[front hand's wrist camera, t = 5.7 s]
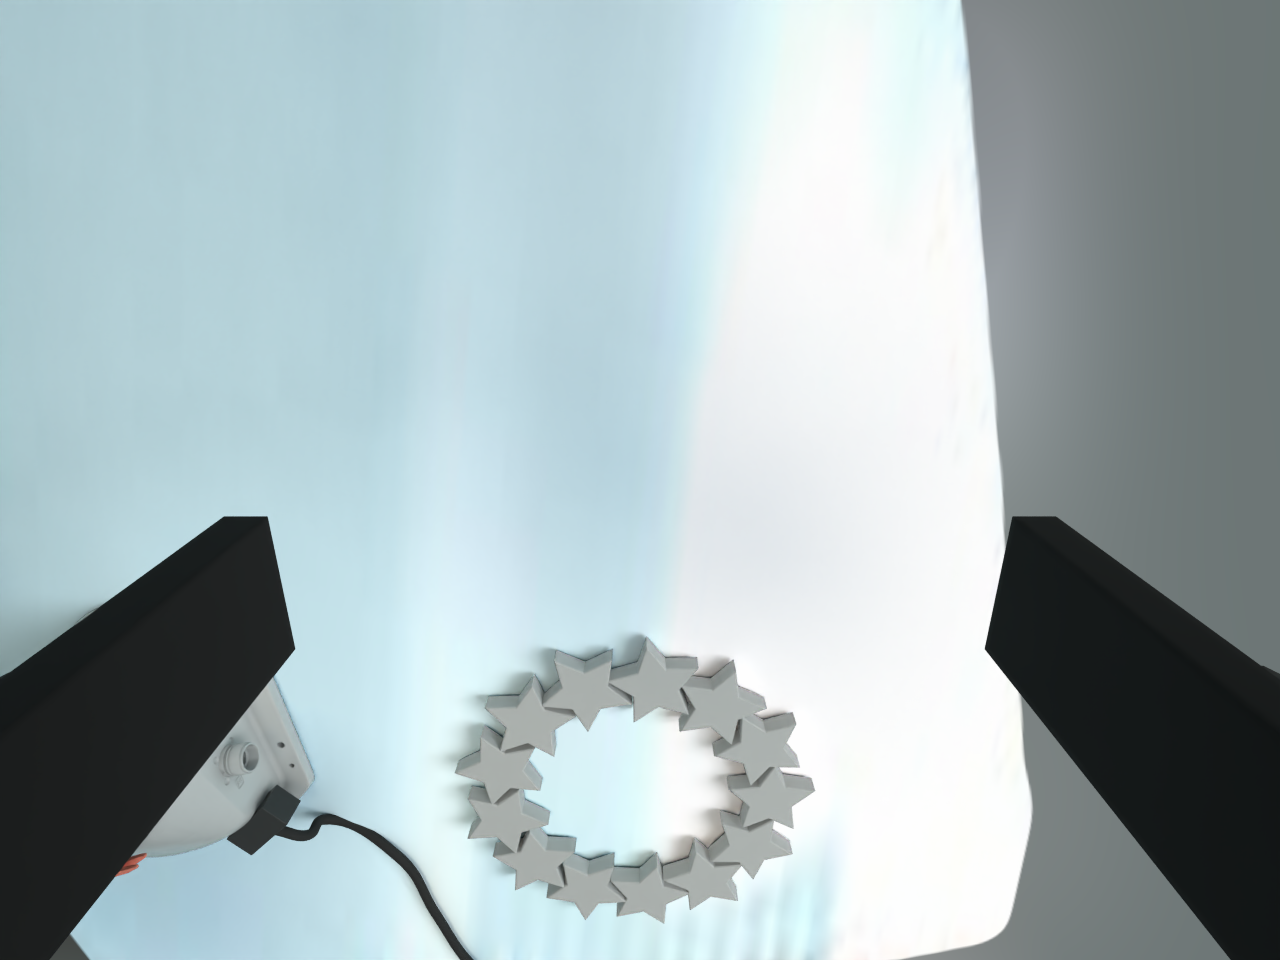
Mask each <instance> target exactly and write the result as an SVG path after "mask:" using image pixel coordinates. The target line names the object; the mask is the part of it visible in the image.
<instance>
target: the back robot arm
mask: <svg viewBox="0 0 1280 960" xmlns="http://www.w3.org/2000/svg"><path fill="white" fill-rule="evenodd" d="M97 609H98V608H97ZM95 610H96V609H95ZM95 610H93V611H91V612H89V613H88V614H86V615H85V616H83V617H82V618H81V619H80V620H79V621H78V622H80V621H81V620H83V619H84V618H85V617H87V616H88V615H89V614H91V613H92V612H94V611H95ZM78 622H77V623H78ZM77 623H76V624H77ZM76 624H75V625H76ZM314 779H315V776H314V773H313V770H312V767H311V765H310V763H309V760H308V758H307V755H306V753H305V751H304V748H303V746H302V744H301V741H300V739H299V737H298V734H297V732H296V729H295V727H294V725H293V722H292V720H291V718H290V715H289V713H288V711H287V708H286V706H285V703H284V701H283V699H282V696H281V694H280V692H279V689H278V687H277V685H276V682H275V680H274V678H272V679H271V680H270V682H269V683H268V684H267V685H266V687H265V688H264V689H263V690H262V692H261V693H260V694H259V695H258V697H257V698H256V699H255V701H254V702H253V703H252V704H251V706H250V707H249V708H248V709H247V711H246V712H245V713H244V714H243V716H242V717H241V718H240V719H239V721H238V722H237V723H236V725H235V726H234V727H233V728H232V730H231V731H230V732H229V733H228V735H227V736H226V737H225V738H224V740H223V741H222V742H221V743H220V745H219V746H218V747H217V749H216V750H215V751H214V752H213V754H212V755H211V756H210V757H209V759H208V760H207V761H206V762H205V764H204V765H203V766H202V767H201V769H200V770H199V771H198V773H197V774H196V775H195V776H194V778H193V779H192V780H191V781H190V783H189V784H188V785H187V786H186V788H185V789H184V790H183V791H182V793H181V794H180V795H179V797H178V798H177V799H176V800H175V802H174V803H173V804H172V805H171V807H170V808H169V809H168V810H167V812H166V813H165V814H164V815H163V817H162V818H161V819H160V821H159V822H158V823H157V824H156V826H155V827H154V828H153V829H152V831H151V832H150V833H149V834H148V836H147V837H146V838H145V839H144V841H143V842H142V843H141V845H140V846H139V847H138V848H137V850H136V851H135V852H134V853H133V855H132V857H130V858H129V860H128V861H127V862H126V863H125V865H124V866H123V867H122V869H121V870H120V871H119V872H118V874H117V875H116V876H119V875H122V874H126V873H129V872H130V871H132V870H134V869H136V868H138V866H139V865H138V864H137V863H138V862H139V861H141V860H142V859H144V858H145V857H165V856H173V855H177V854H182V853H186V852H190V851H194V850H197V849H200V848H203V847H206V846H209V845H211V844H213V843H216V842H218V841H220V840H222V839H224V838H226V837H228V836H229V837H228V838H227V840H228V841H230V842H232V843H233V844H235V845H236V846H238V847H239V848H241V849H242V850H244V851H245V852H247V853H249V854H250V855H252V854H254V853H255V852H256V851H257V850H258V849H259V848H261V847H262V846H263V845H264V844H265V843H266V842H267V841H269V840H270V839H271V838H272V837H273V836H274V835H277V836H281V837H284V838H288V839H291V840H295V841H307V840H310V839H312V838H314V837H315V836H316V835H317V834H318V832H319V829H320V827H321V825H328V824H331V825H339V826H343V827H346V828H349V829H351V830H353V831H355V832H357V833H359V834H361V835H362V836H364V837H366V838H367V839H369V840H370V841H371V842H373V843H374V844H375V845H377V846H378V847H379V848H380V849H382V850H383V851H384V852H385V853H386V854H388V855H389V856H390V857H391V858H392V859H394V860H395V861H396V862H397V863H398V864H399V865H400V866H401V867H402V868H403V869H404V870H405V871H406V872H407V873H408V875H409V876H410V877H411V879H412V880H413V882H414V884H415V886H416V887H417V889H418V891H419V894H420V896H421V898H422V900H423V902H424V904H425V906H426V908H427V909H428V911H429V913H430V914H431V916H432V917H433V919H434V920H435V922H436V924H437V925H438V927H439V928H440V930H441V932H442V933H443V935H444V936H445V938H446V940H447V941H448V943H449V945H450V946H451V948H452V949H453V951H454V952H455V953H456V955H457V956H458V957H459V959H460V960H473V959H472V958H471V957H470V955H469V954H468V953H467V952H466V951H465V949H464V948H463V947H462V945H461V944H460V943H459V941H458V940H457V938H456V936H455V935H454V933H453V932H452V930H451V928H450V927H449V925H448V923H447V922H446V920H445V918H444V917H443V915H442V914H441V912H440V911H439V909H438V907H437V906H436V904H435V902H434V901H433V899H432V897H431V895H430V893H429V891H428V888H427V886H426V884H425V882H424V880H423V878H422V877H421V875H420V873H419V872H418V870H417V869H416V867H415V866H414V865H413V863H412V862H411V861H410V860H409V859H408V858H407V857H406V856H405V855H404V854H403V853H402V852H400V851H399V850H398V849H397V848H396V847H394V846H393V845H392V844H391V843H390V842H388V841H387V840H386V839H385V838H384V837H382V836H381V835H379V834H378V833H376V832H375V831H373V830H370V829H368V828H366V827H363V826H360V825H358V824H355V823H352V822H350V821H348V820H345V819H343V818H341V817H338V816H336V815H332V814H326V815H320V816H318V817H317V818H315V819H314V821H313V822H312V824H311V827H310V829H309V830H296V829H293V828H290V827H286V825H287V824H288V822H289V820H290V819H291V817H292V815H293V813H294V812H295V810H296V808H297V806H298V805H299V803H300V800H299V799H300V798H301V797H302V796H303V794H304V793H305V792H306V791H307V789H308V788H309V787H310V785H311V784H312V783H313V781H314ZM116 876H115V877H116Z"/></svg>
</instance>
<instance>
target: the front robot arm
mask: <svg viewBox="0 0 1280 960" xmlns="http://www.w3.org/2000/svg"><path fill="white" fill-rule="evenodd" d="M294 650H295V645H294V641H293V636H292V631H291V626H290V621H289V617H288V612H287V607H286V602H285V598H284V593H283V588H282V583H281V579H280V574H279V569H278V564H277V559H276V555H275V550H274V545H273V540H272V536H271V531H270V526H269V521H268V517H223V518H221V519H220V520H219V521H217V522H216V523H214V524H213V525H212V526H210V527H209V528H208V529H206V530H205V531H203V532H202V533H201V534H199V535H198V536H197V537H195V538H194V539H192V540H191V541H190V542H188V543H187V544H186V545H184V546H183V547H181V548H180V549H179V550H177V551H176V552H175V553H173V554H172V555H170V556H169V557H168V558H166V559H165V560H164V561H162V562H161V563H160V564H158V565H157V566H155V567H154V568H153V569H151V570H150V571H149V572H147V573H146V574H144V575H143V576H142V577H140V578H139V579H138V580H136V581H135V582H133V583H132V584H131V585H129V586H128V587H127V588H125V589H124V590H122V591H121V592H120V593H118V594H117V595H116V596H114V597H113V598H111V599H110V600H109V601H107V602H106V603H105V604H103V605H102V606H100V607H99V608H98V609H96V610H95V611H94V612H92V613H91V614H89V615H88V616H87V617H85V618H84V619H83V620H81V621H80V622H78V623H77V624H76V625H74V626H73V627H72V628H70V629H69V630H67V631H66V632H65V633H63V634H62V635H61V636H59V637H58V638H57V639H55V640H54V641H52V642H51V643H50V644H48V645H47V646H46V647H44V648H43V649H41V650H40V651H39V652H37V653H36V654H35V655H33V656H32V657H30V658H29V659H28V660H26V661H25V662H24V663H22V664H21V665H19V666H18V667H17V668H15V669H14V670H13V671H11V672H9V673H7V674H5V675H3V676H1V677H0V960H49V959H50V958H51V957H52V956H53V954H54V953H55V952H56V951H57V949H58V948H59V947H60V945H61V944H62V943H63V942H64V940H65V939H66V938H67V937H68V935H69V934H70V933H71V932H72V930H73V929H74V928H75V927H76V925H77V924H78V923H79V922H80V920H81V919H82V918H83V917H84V915H85V914H86V913H87V911H88V910H89V909H90V908H91V906H92V905H93V904H94V903H95V901H96V900H97V899H98V898H99V896H100V895H101V894H102V893H103V891H104V890H105V889H106V887H107V886H108V885H109V884H110V882H111V881H112V880H113V879H114V877H115V876H116V875H117V874H118V872H119V871H120V870H121V869H122V867H123V866H124V865H125V863H126V862H127V861H128V860H129V858H130V857H131V856H132V855H133V853H134V852H135V851H136V850H137V848H138V847H139V846H140V845H141V843H142V842H143V841H144V839H145V838H146V837H147V836H148V834H149V833H150V832H151V831H152V829H153V828H154V827H155V826H156V824H157V823H158V822H159V821H160V819H161V818H162V817H163V815H164V814H165V813H166V812H167V810H168V809H169V808H170V807H171V805H172V804H173V803H174V802H175V800H176V799H177V798H178V797H179V795H180V794H181V793H182V791H183V790H184V789H185V788H186V786H187V785H188V784H189V783H190V781H191V780H192V779H193V778H194V776H195V775H196V774H197V773H198V771H199V770H200V769H201V767H202V766H203V765H204V764H205V762H206V761H207V760H208V759H209V757H210V756H211V755H212V754H213V752H214V751H215V750H216V749H217V747H218V746H219V745H220V743H221V742H222V741H223V740H224V738H225V737H226V736H227V735H228V733H229V732H230V731H231V730H232V728H233V727H234V726H235V725H236V723H237V722H238V721H239V719H240V718H241V717H242V716H243V714H244V713H245V712H246V711H247V709H248V708H249V707H250V706H251V704H252V703H253V702H254V701H255V699H256V698H257V697H258V695H259V694H260V693H261V692H262V690H263V689H264V688H265V687H266V685H267V684H268V683H269V682H270V680H271V679H272V678H273V677H274V675H275V674H276V673H277V671H278V670H279V669H280V668H281V666H282V665H283V664H284V663H285V661H286V660H287V659H288V658H289V656H290V655H291V654H292V653H293V651H294ZM985 650H986V651H987V653H988V654H989V655H990V656H991V658H992V659H993V660H994V661H995V663H996V664H997V665H998V666H999V668H1000V669H1001V670H1002V671H1003V673H1004V674H1005V675H1006V677H1007V678H1008V679H1009V680H1010V682H1011V683H1012V684H1013V685H1014V687H1015V688H1016V689H1017V690H1018V692H1019V693H1020V694H1021V695H1022V697H1023V698H1024V699H1025V700H1026V702H1027V703H1028V704H1029V706H1030V707H1031V708H1032V709H1033V711H1034V712H1035V713H1036V714H1037V716H1038V717H1039V718H1040V719H1041V721H1042V722H1043V723H1044V725H1045V726H1046V727H1047V728H1048V730H1049V731H1050V732H1051V733H1052V735H1053V736H1054V737H1055V738H1056V740H1057V741H1058V742H1059V743H1060V745H1061V746H1062V747H1063V749H1064V750H1065V751H1066V752H1067V754H1068V755H1069V756H1070V757H1071V759H1072V760H1073V761H1074V762H1075V764H1076V765H1077V766H1078V767H1079V769H1080V770H1081V771H1082V772H1083V774H1084V775H1085V776H1086V778H1087V779H1088V780H1089V781H1090V783H1091V784H1092V785H1093V786H1094V788H1095V789H1096V790H1097V791H1098V793H1099V794H1100V795H1101V796H1102V798H1103V799H1104V800H1105V802H1106V803H1107V804H1108V805H1109V807H1110V808H1111V809H1112V810H1113V812H1114V813H1115V814H1116V815H1117V817H1118V818H1119V819H1120V821H1121V822H1122V823H1123V824H1124V826H1125V827H1126V828H1127V829H1128V831H1129V832H1130V833H1131V834H1132V836H1133V837H1134V838H1135V839H1136V841H1137V842H1138V843H1139V844H1140V846H1141V847H1142V848H1143V849H1144V851H1145V852H1146V853H1147V855H1148V856H1149V857H1150V858H1151V860H1152V861H1153V862H1154V863H1155V865H1156V866H1157V867H1158V869H1159V870H1160V871H1161V872H1162V874H1163V875H1164V876H1165V877H1166V879H1167V880H1168V881H1169V882H1170V884H1171V885H1172V886H1173V887H1174V889H1175V890H1176V891H1177V893H1178V894H1179V895H1180V896H1181V898H1182V899H1183V900H1184V901H1185V903H1186V904H1187V905H1188V906H1189V908H1190V909H1191V910H1192V911H1193V913H1194V914H1195V915H1196V917H1197V918H1198V919H1199V920H1200V922H1201V923H1202V924H1203V925H1204V927H1205V928H1206V929H1207V930H1208V932H1209V933H1210V934H1211V935H1212V937H1213V938H1214V939H1215V941H1216V942H1217V943H1218V944H1219V946H1220V947H1221V948H1222V949H1223V951H1224V952H1225V953H1226V954H1227V956H1228V957H1229V958H1230V959H1231V960H1280V674H1279V673H1277V672H1275V671H1273V670H1271V669H1269V668H1267V667H1265V666H1260V665H1259V664H1258V663H1256V662H1255V661H1254V660H1252V659H1251V658H1250V657H1248V656H1247V655H1245V654H1244V653H1243V652H1241V651H1240V650H1239V649H1237V648H1236V647H1234V646H1233V645H1232V644H1230V643H1229V642H1228V641H1226V640H1225V639H1223V638H1222V637H1221V636H1219V635H1218V634H1217V633H1215V632H1214V631H1213V630H1211V629H1210V628H1208V627H1207V626H1206V625H1204V624H1203V623H1202V622H1200V621H1199V620H1197V619H1196V618H1195V617H1193V616H1192V615H1191V614H1189V613H1188V612H1186V611H1185V610H1184V609H1182V608H1181V607H1180V606H1178V605H1177V604H1175V603H1174V602H1173V601H1171V600H1170V599H1169V598H1167V597H1166V596H1164V595H1163V594H1162V593H1160V592H1159V591H1158V590H1156V589H1155V588H1153V587H1152V586H1151V585H1149V584H1148V583H1147V582H1145V581H1144V580H1142V579H1141V578H1140V577H1138V576H1137V575H1136V574H1134V573H1133V572H1131V571H1130V570H1129V569H1127V568H1126V567H1125V566H1123V565H1122V564H1120V563H1119V562H1118V561H1116V560H1115V559H1114V558H1112V557H1111V556H1110V555H1108V554H1107V553H1105V552H1104V551H1103V550H1101V549H1100V548H1098V547H1097V546H1096V545H1094V544H1093V543H1092V542H1090V541H1089V540H1088V539H1086V538H1085V537H1083V536H1082V535H1081V534H1079V533H1078V532H1077V531H1075V530H1074V529H1072V528H1071V527H1070V526H1068V525H1067V524H1066V523H1064V522H1063V521H1061V520H1060V519H1059V518H1057V517H1012V522H1011V526H1010V531H1009V536H1008V540H1007V545H1006V550H1005V555H1004V559H1003V564H1002V569H1001V574H1000V579H999V583H998V588H997V593H996V598H995V602H994V607H993V612H992V617H991V621H990V626H989V631H988V636H987V641H986V645H985Z"/></svg>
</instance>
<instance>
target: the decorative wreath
mask: <svg viewBox="0 0 1280 960" xmlns="http://www.w3.org/2000/svg"><path fill="white" fill-rule="evenodd" d="M612 653H613V649H611V650H609V651H607V652H605V653H602V654H600V655H598V656H596V657H594V658H592V659H590V660H588V661H586V662H585V661H582V660H580V659H577V658H575V657H573V656H570V655H568V654H565V653H563V652H560V651H558V650H556V654H555V659H554V662H555V666H556V669H557V673H558V676H559V681H558V682H556V683H555V684H554V685H553V686H552V687H551V688H550V689H549V690H548V691H546V692H545V693H544V692H543V689H542V687H541V685H540V683H539V681H538V679H537V677H536V675H535V674H534V676H533V677H532V678H531V680H530V681H529V683H528V684H527V685H526V687H525V688H524V689H523V691H522V692H521V694H520V695H519V696H488V699H487V702H486V705H485V709H486V710H487V711H488V712H489V713H491V714H492V715H493V716H494V717H495V718H496V719H497V720H498V721H499V722H500V723H501V724H502V725H504V726H505V727H506V730H505V733H504V737H501V736H500V735H498V734H497V733H496V732H494V731H493V730H491V729H490V728H488V727H487V726H485V725H484V727H483V730H482V733H481V737H480V751H478V752H476V753H474V754H471V755H469V756H467V757H465V758H463V759H461V760H459V762H458V765H457V768H456V771H455V773H456V774H459V775H462V776H465V777H468V778H471V779H474V780H477V781H480V782H484V785H485V788H486V789H485V788H480V787H475V786H471V790H470V793H469V796H468V800H469V802H470V803H471V805H472V806H473V808H474V809H475V811H476V813H477V814H478V817H477V818H476V819H475V821H474V822H473V823H472V825H471V828H470V831H469V835H468V839H471V838H488V837H497V838H498V839H499V840H501V842H496V845H495V849H494V853H493V857H494V858H496V859H498V860H500V861H501V862H503V863H505V864H506V865H508V866H510V867H512V868H513V869H515V870H516V883H515V890H517V889H519V888H522V887H524V886H526V885H528V884H530V883H532V882H534V881H537V880H540V881H544V882H547V883H548V891H547V898H550V899H556V900H563V901H569V902H574V903H575V904H576V906H577V908H578V909H579V911H580V912H581V914H582V916H583V917H584V919H585V920H586V919H587V918H588V916H589V915H590V914H591V913H592V911H593V910H594V909H595V907H596V906H597V905H598V904H599V903H616V902H617V916H623V915H628V914H633V913H638V912H643V911H644V912H645V913H647V914H649V915H650V916H652V917H654V918H655V919H657V920H659V921H660V922H662V923H664V921H665V910H666V904H668V903H670V902H672V901H674V900H677V899H679V898H681V897H683V896H686V895H688V897H689V906H690V910H691V909H693V908H694V907H696V906H697V905H699V904H700V903H702V902H703V901H705V900H706V899H708V898H709V897H716V898H723V899H729V900H735V901H738V897H737V890H736V886H735V884H734V882H733V880H732V879H731V877H732V876H733V875H734V874H735V873H736V872H737V870H738V869H739V868H740V867H741V866H742V867H743V868H744V869H745V870H746V871H747V873H748V874H749V875H750V876H751V877H752V879H754V877H755V875H756V874H757V872H758V870H759V868H760V867H761V865H762V863H763V861H764V860H766V859H771V858H776V857H781V856H786V855H791V854H792V849H791V845H790V841H789V840H788V839H786V838H785V837H783V836H782V835H780V834H778V833H777V832H775V831H773V823H774V821H776V822H779V823H781V824H783V825H786V826H788V827H790V828H793V816H792V806H793V805H795V804H796V803H798V802H799V801H801V800H802V799H804V798H805V797H807V796H808V795H810V794H811V793H813V792H814V791H815V789H814V786H813V782H812V779H811V778H808V777H800V776H793V775H785V774H782V772H781V770H780V768H779V767H800V766H799V762H798V759H797V755H796V754H795V753H794V751H793V750H792V749H791V748H790V746H789V745H788V744H787V741H788V739H789V737H790V735H791V733H792V731H793V729H794V728H795V726H796V721H795V718H794V715H793V712H791V713H787V714H784V715H780V716H776V717H772V718H768V719H764V720H762V719H761V718H759V717H758V716H756V715H755V714H754V713H757V712H759V711H762V710H764V709H767V707H766V703H765V700H764V697H763V696H761V695H758V694H756V693H754V692H751V691H749V690H746V689H744V688H742V687H739V686H738V684H737V676H736V669H735V664H734V660H732V661H731V662H730V663H729V664H727V665H726V666H725V667H724V668H722V669H721V670H720V671H719V672H718V673H716V674H715V675H714V676H713V677H712V678H704V677H697V676H692V675H693V674H694V673H695V672H696V670H697V669H698V661H697V657H684V658H665V657H664V656H663V655H662V653H661V652H660V651H659V650H658V649H657V648H656V646H655V645H654V644H653V643H652V642H651V641H650V639H649V638H648V637H647V636H646V639H645V642H644V645H643V648H642V650H641V653H640V656H639V659H638V662H636V663H632V664H628V665H625V666H621V667H618V668H614V669H611V663H612ZM682 689H683V690H684V692H685V693H686V695H687V697H688V698H689V700H690V703H689V705H688V702H687V700H686V697H685V695H684V692H683V690H682ZM632 696H633V707H634V722H635V721H637V720H639V719H640V718H642V717H643V716H645V715H647V714H648V713H650V712H651V711H653V710H655V709H656V708H658V707H661V708H665V709H669V710H673V711H677V712H680V713H683V714H682V715H681V717H680V718H679V729H680V731H686V730H693V729H701V728H708V727H711V728H712V729H713V730H715V731H716V732H717V733H718V734H719V735H721V736H722V737H723V738H722V739H720V740H718V741H716V742H714V743H712V745H713V752H714V756H716V757H720V758H724V759H728V760H731V761H735V762H739V763H743V766H744V769H745V772H746V775H738V776H728V777H727V781H728V787H729V790H730V791H731V792H732V793H734V794H735V795H736V796H737V797H738V798H740V799H741V800H742V801H743V805H742V808H741V811H740V814H739V815H740V816H738V815H734V814H731V813H727V812H724V811H721V810H720V814H721V822H722V826H723V829H724V832H725V833H724V834H723V835H722V836H721V837H720V838H719V839H718V840H717V841H716V842H714V843H713V844H712V845H711V846H710V847H709V849H708V848H706V847H705V846H704V845H703V844H702V843H701V842H699V841H698V840H697V839H696V838H694V841H693V844H692V848H691V851H690V854H689V858H686V859H683V860H680V861H677V862H674V863H671V864H667V865H664V866H663V870H662V867H661V864H660V861H659V858H658V855H657V852H656V853H655V854H654V855H653V856H652V857H651V858H650V859H649V860H648V861H647V862H646V863H644V864H643V865H642V866H641V867H640V868H627V867H614V853H611V854H608V855H605V856H602V857H599V858H596V859H593V860H590V861H589V860H587V859H584V858H582V857H580V856H578V855H575V854H573V853H574V852H575V846H576V838H571V837H552V836H547V835H546V833H545V832H544V831H543V830H542V829H541V828H540V827H542V826H546V825H548V823H549V816H550V811H549V810H547V809H544V808H542V807H540V806H538V805H536V804H533V803H531V802H529V801H527V800H525V797H524V790H523V789H527V790H538V791H540V789H541V784H542V776H541V775H540V774H539V773H538V771H537V770H536V769H535V768H534V767H533V765H532V764H531V763H530V762H529V758H530V756H531V754H532V752H533V750H534V748H535V747H536V748H538V749H540V750H542V751H544V752H546V753H548V754H550V755H552V756H554V755H555V749H556V738H555V729H557V728H559V727H560V726H562V725H563V724H565V723H566V722H568V721H569V720H571V719H572V718H574V717H575V716H576V715H577V717H578V718H579V720H580V721H581V723H582V724H583V725H584V727H585V728H586V730H587V731H589V729H590V727H591V725H592V724H593V722H594V720H595V718H596V716H597V714H598V713H599V711H600V709H602V708H609V707H616V706H623V705H630V704H632ZM737 721H738V730H736V731H735V729H736V725H737ZM793 829H794V828H793ZM525 831H526V832H525ZM522 832H525V835H524V837H523V838H520V837H521V833H522ZM562 863H563V864H562ZM563 865H564V866H563Z"/></svg>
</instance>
